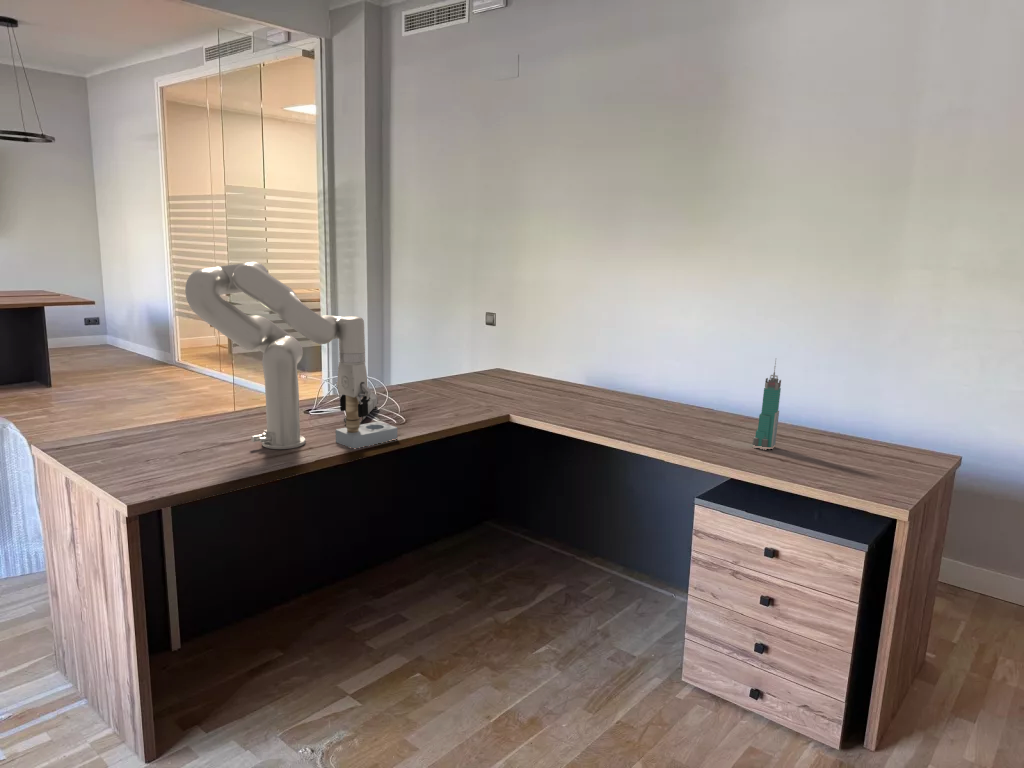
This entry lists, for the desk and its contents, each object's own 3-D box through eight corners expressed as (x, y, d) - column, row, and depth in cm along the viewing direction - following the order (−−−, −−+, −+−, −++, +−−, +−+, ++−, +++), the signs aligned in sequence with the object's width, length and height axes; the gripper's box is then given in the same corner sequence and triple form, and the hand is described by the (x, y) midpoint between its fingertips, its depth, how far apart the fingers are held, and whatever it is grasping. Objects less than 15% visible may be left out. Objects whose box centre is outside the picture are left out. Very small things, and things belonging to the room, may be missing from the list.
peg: (350, 433, 212) (350, 395, 210) (343, 431, 215) (342, 392, 213) (362, 431, 215) (362, 393, 213) (355, 428, 218) (354, 391, 216)
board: (353, 449, 211) (353, 436, 210) (335, 442, 217) (335, 429, 217) (397, 439, 222) (397, 427, 221) (379, 433, 229) (379, 421, 228)
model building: (371, 415, 261) (356, 434, 237) (357, 401, 260) (341, 420, 236) (384, 402, 260) (371, 420, 236) (371, 388, 259) (356, 405, 235)
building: (770, 451, 223) (781, 358, 217) (751, 448, 226) (761, 356, 220) (775, 447, 228) (785, 355, 222) (756, 443, 231) (765, 353, 225)
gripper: (326, 355, 214) (328, 410, 218) (357, 363, 202) (359, 421, 206) (347, 352, 219) (349, 406, 223) (379, 360, 207) (381, 416, 211)
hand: (354, 413), depth 214 cm, fingers open, 9 cm apart
